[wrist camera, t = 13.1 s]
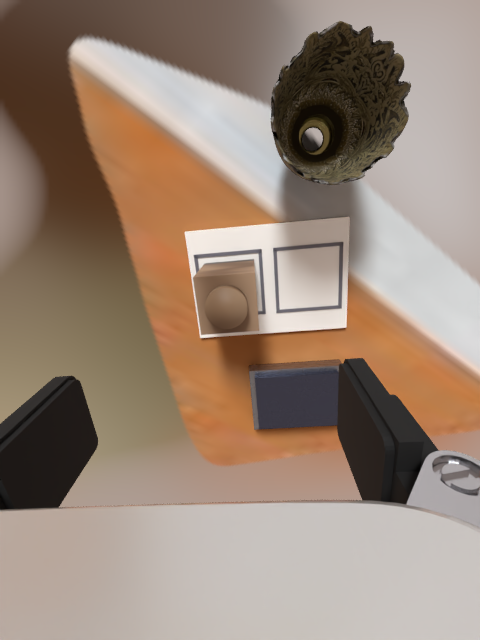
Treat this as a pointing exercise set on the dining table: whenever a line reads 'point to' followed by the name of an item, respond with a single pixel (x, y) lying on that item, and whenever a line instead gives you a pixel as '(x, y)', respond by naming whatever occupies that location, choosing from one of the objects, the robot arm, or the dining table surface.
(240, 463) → the dining table surface
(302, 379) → the ink pad
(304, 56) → the carved brown lampshade
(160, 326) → the dining table surface
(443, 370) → the dining table surface
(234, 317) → the stamp
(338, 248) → the sheet
